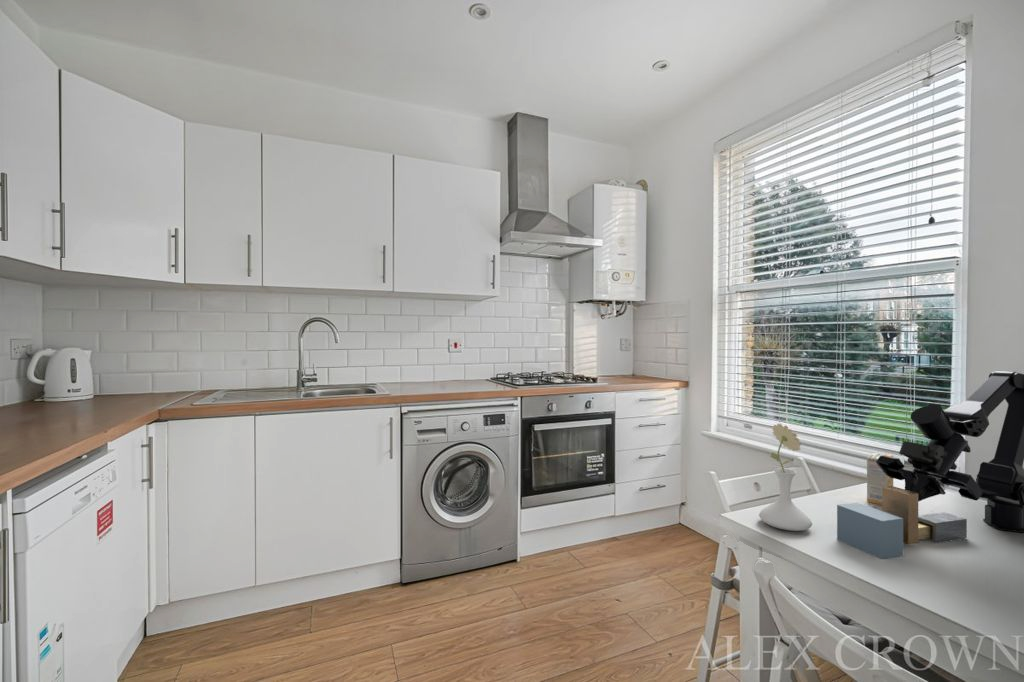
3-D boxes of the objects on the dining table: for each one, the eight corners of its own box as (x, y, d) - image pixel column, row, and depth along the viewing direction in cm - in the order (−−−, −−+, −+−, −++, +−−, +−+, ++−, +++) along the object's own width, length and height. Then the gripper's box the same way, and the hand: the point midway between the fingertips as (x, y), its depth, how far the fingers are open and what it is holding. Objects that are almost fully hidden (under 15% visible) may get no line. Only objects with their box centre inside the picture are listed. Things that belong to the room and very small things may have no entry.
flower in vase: (821, 537, 107) (821, 430, 107) (768, 533, 109) (768, 428, 109) (798, 516, 119) (798, 421, 120) (750, 513, 122) (751, 419, 122)
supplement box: (873, 495, 136) (873, 452, 137) (894, 500, 133) (894, 455, 133) (865, 501, 131) (865, 456, 131) (887, 506, 128) (887, 459, 128)
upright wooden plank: (929, 528, 110) (929, 482, 110) (956, 537, 105) (956, 489, 105) (864, 537, 105) (864, 488, 105) (889, 547, 100) (889, 496, 100)
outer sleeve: (944, 531, 111) (944, 512, 111) (966, 538, 106) (966, 518, 107) (914, 535, 108) (914, 515, 108) (935, 543, 104) (935, 523, 104)
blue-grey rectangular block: (857, 536, 107) (857, 502, 107) (903, 555, 98) (903, 518, 98) (837, 539, 106) (837, 504, 106) (881, 559, 96) (882, 521, 96)
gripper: (881, 422, 115) (847, 469, 112) (973, 437, 97) (935, 493, 94) (904, 452, 117) (871, 498, 114) (998, 472, 99) (962, 528, 96)
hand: (906, 503), depth 104 cm, fingers closed, pressing on upright wooden plank
